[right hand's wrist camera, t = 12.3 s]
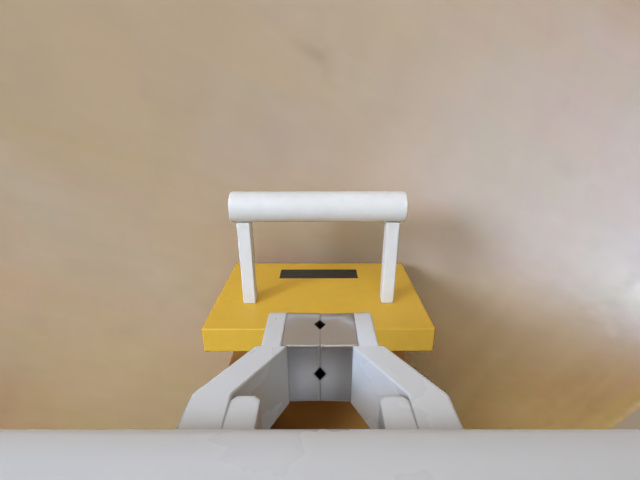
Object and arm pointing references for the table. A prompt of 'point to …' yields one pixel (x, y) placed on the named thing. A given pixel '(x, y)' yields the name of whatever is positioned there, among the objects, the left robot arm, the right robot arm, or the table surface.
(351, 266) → the drawer
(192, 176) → the table surface
